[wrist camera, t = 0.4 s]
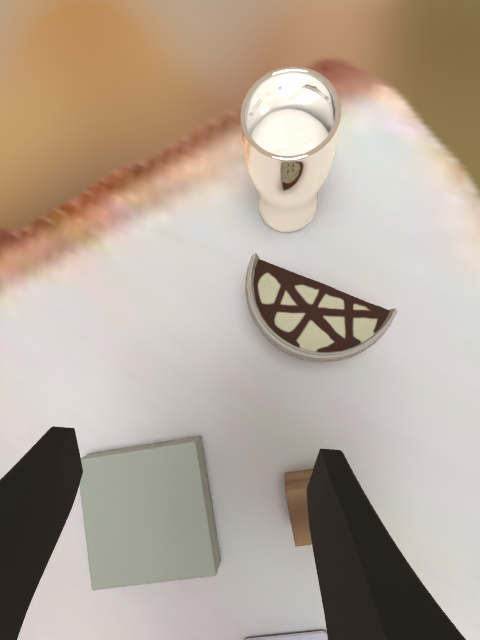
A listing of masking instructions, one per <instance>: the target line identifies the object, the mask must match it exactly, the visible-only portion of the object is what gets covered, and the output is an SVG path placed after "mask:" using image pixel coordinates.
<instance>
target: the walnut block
mask: <svg viewBox="0 0 480 640" xmlns="http://www.w3.org/2000/svg"><path fill="white" fill-rule="evenodd" d="M312 472H313V469H311V470H304V471H297V472H290V473H285V490H286V496H287V502H288V508H289V513H290V519H291V524H292V530H293V535H294V541H295V546H303V545H311V544H312V540H311V534H310V528H309V519H308V505H307V486H308V483H309V480H310V477H311V474H312Z"/></svg>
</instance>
